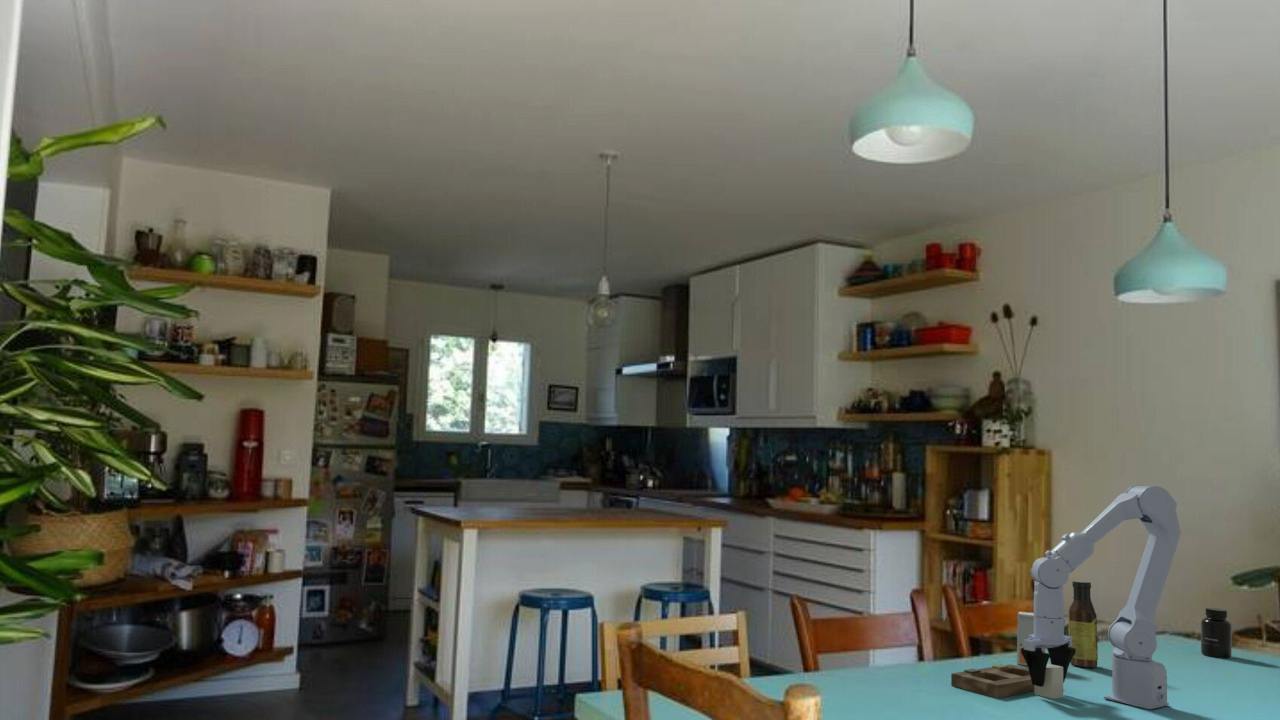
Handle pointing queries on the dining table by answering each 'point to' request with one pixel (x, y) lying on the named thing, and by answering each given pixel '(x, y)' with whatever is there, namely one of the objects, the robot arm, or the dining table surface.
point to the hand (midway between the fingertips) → (1048, 683)
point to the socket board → (995, 681)
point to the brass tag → (1000, 666)
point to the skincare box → (1024, 633)
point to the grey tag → (972, 671)
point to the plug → (1051, 683)
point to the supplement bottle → (1216, 634)
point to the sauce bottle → (1083, 626)
